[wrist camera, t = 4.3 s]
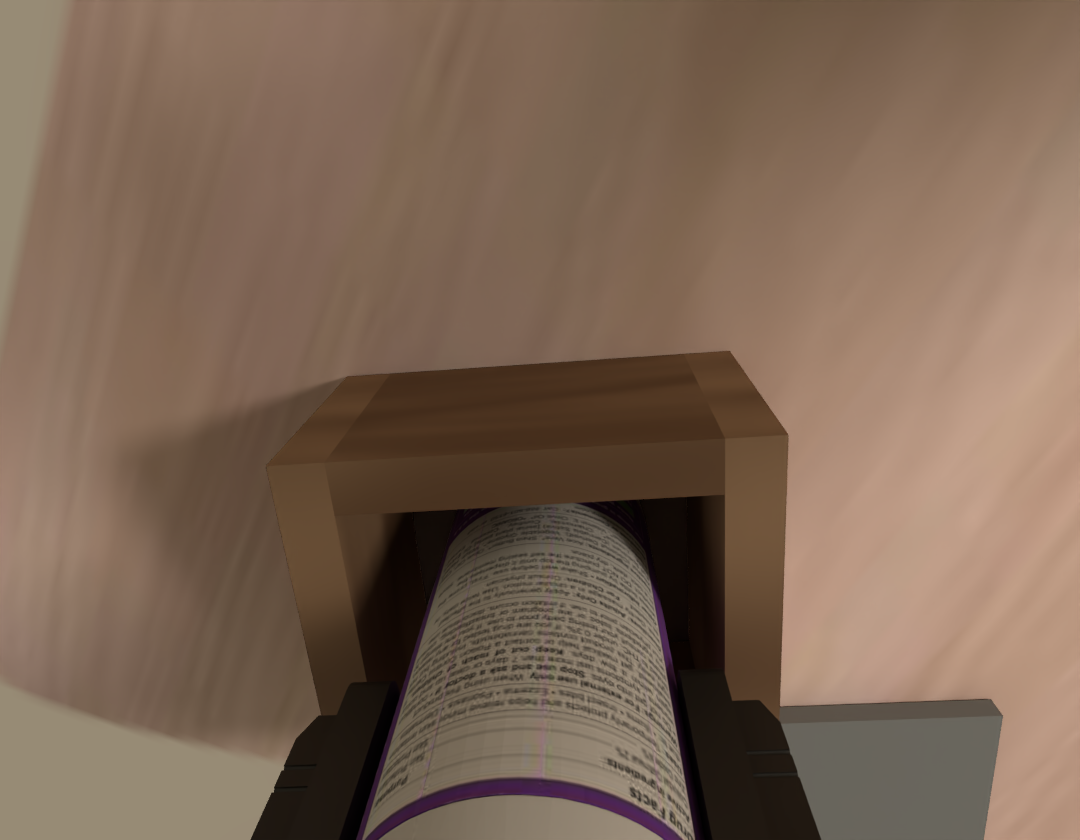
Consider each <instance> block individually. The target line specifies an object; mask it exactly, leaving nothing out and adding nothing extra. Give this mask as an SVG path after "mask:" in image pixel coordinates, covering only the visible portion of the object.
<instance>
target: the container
mask: <svg viewBox="0 0 1080 840" xmlns="http://www.w3.org/2000/svg"><path fill="white" fill-rule="evenodd" d="M356 840H705V836H704V831H703V825H702V820H701V814H700V809H699V804H698V798H697V793H696V788H695V782H694V777H693V772H692V766H691V761H690V755H689V750H688V745H687V739H686V734H685V729H684V723H683V718H682V713H681V707H680V702H679V696H678V690H677V685H676V680H675V674H674V669H673V664H672V658H671V653H670V648H669V642H668V637H667V632H666V626H665V621H664V616H663V610H662V605H661V600H660V594H659V589H658V584H657V578H656V573H655V568H654V562H653V557H652V552H651V546H650V541H649V536H648V530H647V525H646V522H645V517H644V513H643V510H642V507H641V504H640V502H639V499H637V500H619V501H601V502H583V503H565V504H546V505H528V506H510V507H492V508H474V509H457V511H456V514H455V518H454V521H453V524H452V527H451V531H450V534H449V537H448V541H447V544H446V547H445V550H444V554H443V557H442V560H441V563H440V567H439V570H438V573H437V577H436V580H435V583H434V586H433V590H432V593H431V596H430V599H429V603H428V606H427V609H426V613H425V616H424V619H423V622H422V626H421V629H420V632H419V635H418V639H417V642H416V645H415V649H414V652H413V655H412V658H411V662H410V665H409V668H408V671H407V675H406V678H405V681H404V685H403V688H402V691H401V694H400V698H399V701H398V704H397V707H396V711H395V714H394V717H393V721H392V724H391V727H390V730H389V734H388V737H387V740H386V744H385V747H384V750H383V753H382V757H381V760H380V763H379V766H378V770H377V773H376V776H375V780H374V783H373V786H372V789H371V793H370V796H369V799H368V802H367V806H366V809H365V812H364V816H363V819H362V822H361V825H360V829H359V832H358V835H357V838H356Z"/></svg>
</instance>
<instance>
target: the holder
mask: <svg viewBox="0 0 1080 840" xmlns="http://www.w3.org/2000/svg"><path fill="white" fill-rule="evenodd" d="M787 465H788V433H787V432H786V431H785V429H784V428H783V426H782V425H781V424H780V422H779V421H778V419H777V418H776V416H775V415H774V414H773V412H772V411H771V409H770V408H769V406H768V405H767V404H766V402H765V401H764V399H763V398H762V396H761V395H760V394H759V392H758V391H757V389H756V388H755V386H754V385H753V384H752V382H751V381H750V379H749V378H748V376H747V375H746V374H745V372H744V371H743V369H742V368H741V366H740V365H739V364H738V362H737V361H736V359H735V358H734V356H733V355H732V354H731V352H730V351H722V352H707V353H692V354H677V355H662V356H648V357H633V358H618V359H603V360H588V361H573V362H558V363H544V364H529V365H514V366H499V367H484V368H469V369H454V370H439V371H425V372H410V373H395V374H380V375H365V376H350V377H346V379H345V380H344V381H343V382H342V383H341V384H340V385H339V386H338V387H337V388H336V390H335V391H334V392H333V393H332V394H331V395H330V396H329V397H328V398H327V399H326V401H325V402H324V403H323V404H322V405H321V406H320V407H319V408H318V409H317V410H316V412H315V413H314V414H313V415H312V416H311V417H310V418H309V419H308V420H307V421H306V423H305V424H304V425H303V426H302V427H301V428H300V429H299V430H298V431H297V432H296V434H295V435H294V436H293V437H292V438H291V439H290V440H289V441H288V442H287V443H286V444H285V446H284V447H283V448H282V449H281V450H280V451H279V452H278V453H277V454H276V455H275V457H274V458H273V459H272V460H271V461H270V462H269V463H268V464H267V465H266V469H267V474H268V478H269V483H270V487H271V492H272V496H273V501H274V505H275V510H276V514H277V519H278V523H279V528H280V532H281V537H282V541H283V545H284V550H285V554H286V559H287V563H288V568H289V572H290V577H291V581H292V586H293V590H294V595H295V599H296V604H297V608H298V613H299V617H300V622H301V626H302V630H303V635H304V639H305V644H306V648H307V653H308V657H309V662H310V666H311V671H312V675H313V680H314V684H315V689H316V693H317V698H318V702H319V707H320V711H321V715H337V713H338V710H339V708H340V705H341V703H342V700H343V698H344V695H345V693H346V690H347V688H348V686H349V685H350V684H351V683H353V682H376V681H396V683H397V685H398V687H399V691H400V694H401V691H402V688H403V685H404V681H405V678H406V675H407V671H408V668H409V665H410V662H411V658H412V655H413V652H414V649H415V645H416V642H417V639H418V635H419V632H420V629H421V626H422V622H423V619H424V616H425V613H426V609H427V606H426V600H425V593H424V587H423V580H422V574H421V567H420V561H419V554H418V548H417V542H416V535H415V529H414V522H413V516H412V512H420V511H438V510H456V509H474V508H492V507H510V506H528V505H546V504H565V503H583V502H601V501H619V500H637V499H655V498H673V497H686V499H687V555H688V612H689V641H682V642H669V648H670V653H671V658H672V664H673V669H674V674H675V680H676V685H677V690H678V684H677V674H678V670H689V669H714V668H722V669H723V670H724V673H725V676H726V680H727V683H728V687H729V691H730V694H731V698H732V701H738V700H760V701H761V702H762V703H763V704H764V705H765V706H766V707H767V709H768V710H769V711H770V712H771V713H772V714H773V715H774V716H775V717H776V718H777V719H778V720H779V715H780V684H781V652H782V621H783V590H784V559H785V527H786V496H787Z"/></svg>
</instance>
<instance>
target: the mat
mask: <svg viewBox="0 0 1080 840" xmlns="http://www.w3.org/2000/svg"><path fill="white" fill-rule="evenodd" d="M1002 719H1003V715H1002V714H1001V713H1000V711H999V710H998V708H997V707H996V706H995V704H994V703H993V702H992V700H991V699H989V700H962V701H935V702H908V703H881V704H854V705H827V706H800V707H780V715H779V721H780V722H781V725H782V728H783V731H784V734H785V737H786V740H787V743H788V745H789V748H790V754H791V755H792V757H793V760H794V763H795V766H796V768H797V771H798V777H800V780H801V783H802V786H803V788H804V791H805V794H806V797H807V800H808V803H809V806H810V809H811V811H812V814H813V817H814V820H815V823H816V826H817V829H818V832H819V834H820V837H821V840H984V834H985V827H986V821H987V814H988V808H989V802H990V795H991V789H992V782H993V776H994V770H995V763H996V757H997V751H998V744H999V738H1000V731H1001V725H1002Z"/></svg>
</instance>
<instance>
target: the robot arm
mask: <svg viewBox="0 0 1080 840" xmlns="http://www.w3.org/2000/svg"><path fill="white" fill-rule="evenodd" d="M677 684H678V696H679V702H680V707H681V713H682V718H683V723H684V729H685V734H686V739H687V745H688V750H689V755H690V761H691V766H692V772H693V777H694V782H695V788H696V793H697V798H698V804H699V809H700V814H701V820H702V825H703V831H704V836H705V840H821V837H820V834H819V832H818V829H817V826H816V823H815V820H814V817H813V814H812V811H811V809H810V806H809V803H808V800H807V797H806V794H805V791H804V788H803V786H802V783H801V780H800V777H798V771H797V768H796V766H795V763H794V760H793V757H792V755H791V754H790V748H789V745H788V743H787V740H786V737H785V734H784V731H783V728H782V725H781V722H780V721H779V720H778V719H777V718H776V717H775V716H774V715H773V714H772V713H771V712H770V711H769V710H768V709H767V707H766V706H765V705H764V704H763V703H762V702H761V701H760V700H738V701H732V698H731V694H730V691H729V687H728V683H727V680H726V676H725V673H724V670H723V669H722V668H714V669H689V670H678V674H677ZM399 698H400V691H399V687H398V685H397V683H396V681H376V682H353V683H351V684H350V685H349V686H348V688H347V690H346V693H345V695H344V698H343V700H342V703H341V705H340V708H339V710H338V713H337V715H322V716H318V717H317V718H316V719H315V720H314V721H313V722H312V723H311V724H310V725H309V726H308V727H307V728H306V729H305V730H304V731H303V732H302V733H301V734H300V735H299V736H298V738H297V739H296V740H295V743H294V745H293V747H292V749H291V751H290V754H289V756H288V758H287V760H286V762H285V765H284V771H281V773H280V776H279V778H278V780H277V782H276V784H275V787H274V789H275V790H274V793H271V795H270V798H269V800H268V802H267V804H266V807H265V809H264V811H263V813H262V815H261V818H260V820H259V822H258V824H257V826H256V829H255V831H254V833H253V836H252V838H251V840H356V838H357V835H358V832H359V829H360V825H361V822H362V819H363V816H364V812H365V809H366V806H367V802H368V799H369V796H370V793H371V789H372V786H373V783H374V780H375V776H376V773H377V770H378V766H379V763H380V760H381V757H382V753H383V750H384V747H385V744H386V740H387V737H388V734H389V730H390V727H391V724H392V721H393V717H394V714H395V711H396V707H397V704H398V701H399Z"/></svg>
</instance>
